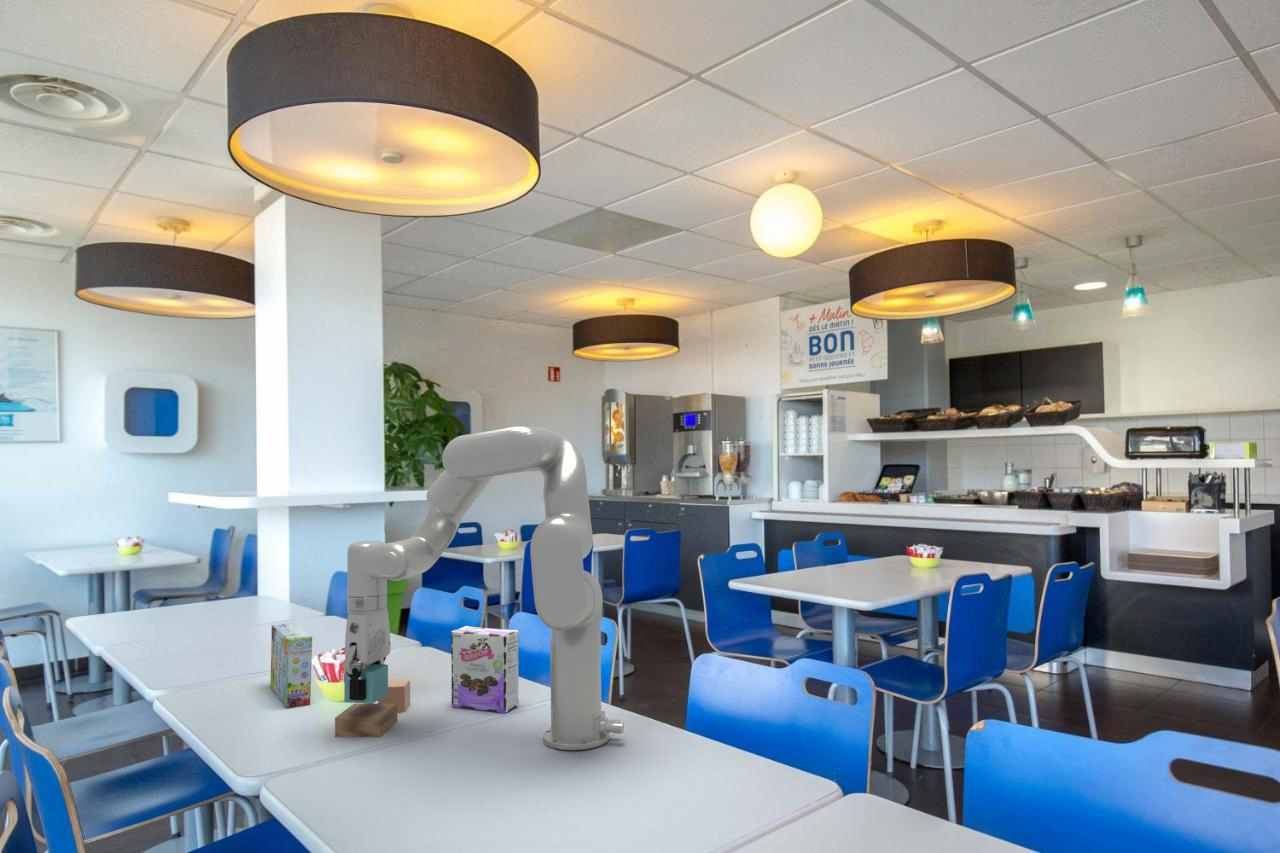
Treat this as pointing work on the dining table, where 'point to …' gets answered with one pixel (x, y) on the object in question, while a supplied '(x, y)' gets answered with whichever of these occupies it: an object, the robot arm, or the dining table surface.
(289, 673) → the snack box
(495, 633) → the candy box
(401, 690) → the terracotta cube
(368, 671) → the teal cube
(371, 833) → the dining table surface
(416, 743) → the dining table surface
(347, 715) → the walnut block
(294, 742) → the dining table surface
